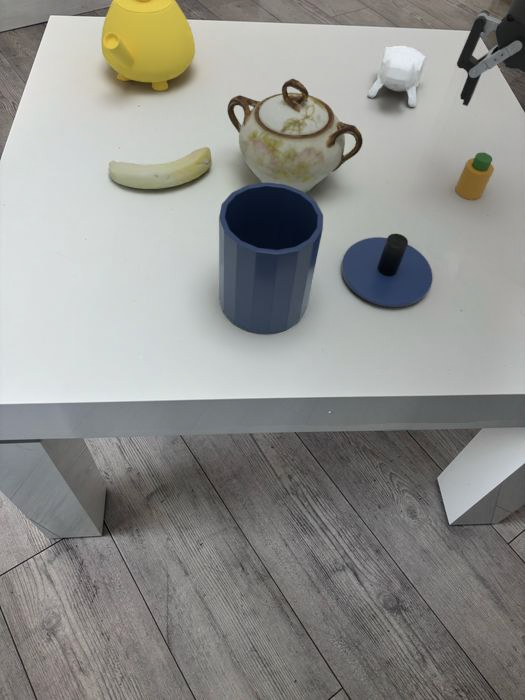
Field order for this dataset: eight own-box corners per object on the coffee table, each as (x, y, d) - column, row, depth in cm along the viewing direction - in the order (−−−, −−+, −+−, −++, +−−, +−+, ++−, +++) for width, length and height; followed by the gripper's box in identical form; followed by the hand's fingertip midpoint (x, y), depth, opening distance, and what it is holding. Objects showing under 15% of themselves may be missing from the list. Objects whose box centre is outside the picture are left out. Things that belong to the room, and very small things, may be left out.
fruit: (217, 189, 79) (217, 170, 76) (111, 198, 77) (107, 178, 74) (210, 159, 83) (209, 140, 80) (109, 166, 81) (105, 146, 78)
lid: (440, 264, 73) (457, 229, 68) (413, 324, 67) (429, 290, 62) (360, 232, 76) (370, 196, 71) (326, 287, 70) (334, 252, 65)
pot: (320, 288, 69) (339, 205, 58) (282, 348, 64) (295, 268, 53) (246, 256, 72) (250, 170, 61) (203, 311, 66) (200, 227, 55)
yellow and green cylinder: (484, 188, 83) (501, 154, 78) (477, 203, 81) (494, 169, 76) (459, 179, 84) (474, 145, 79) (452, 194, 82) (466, 160, 77)
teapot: (160, 119, 88) (151, 30, 77) (75, 95, 90) (54, 5, 79) (209, 62, 99) (208, -23, 88) (133, 42, 101) (122, -44, 90)
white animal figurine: (371, 90, 103) (363, 101, 90) (384, 40, 98) (378, 43, 86) (416, 101, 102) (414, 113, 89) (431, 50, 97) (431, 55, 84)
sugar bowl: (206, 187, 79) (203, 88, 67) (246, 133, 87) (250, 36, 75) (333, 228, 76) (355, 132, 64) (363, 168, 84) (387, 73, 72)
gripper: (489, -34, 57) (437, 109, 70) (628, 4, 54) (547, 146, 67) (504, -57, 61) (453, 83, 74) (635, -23, 58) (557, 116, 71)
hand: (498, 113), depth 71 cm, fingers open, 8 cm apart
